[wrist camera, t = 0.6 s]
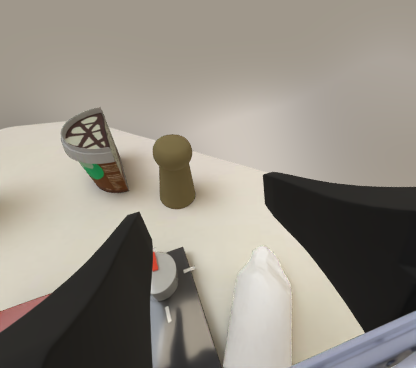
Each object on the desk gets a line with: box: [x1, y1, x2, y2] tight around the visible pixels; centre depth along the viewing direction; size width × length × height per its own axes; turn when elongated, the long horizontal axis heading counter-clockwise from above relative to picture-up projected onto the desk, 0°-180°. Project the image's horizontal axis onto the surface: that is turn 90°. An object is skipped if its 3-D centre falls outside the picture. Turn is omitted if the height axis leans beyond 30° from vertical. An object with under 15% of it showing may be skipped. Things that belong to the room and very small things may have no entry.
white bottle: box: [223, 246, 292, 368], centre depth 20 cm, size 6×12×6 cm, turn 165°
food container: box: [61, 107, 129, 193], centre depth 30 cm, size 12×6×10 cm, turn 25°
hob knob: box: [150, 252, 179, 301], centre depth 20 cm, size 4×4×4 cm
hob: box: [150, 247, 222, 368], centre depth 18 cm, size 15×21×2 cm
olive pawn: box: [153, 134, 195, 209], centre depth 28 cm, size 6×6×11 cm
